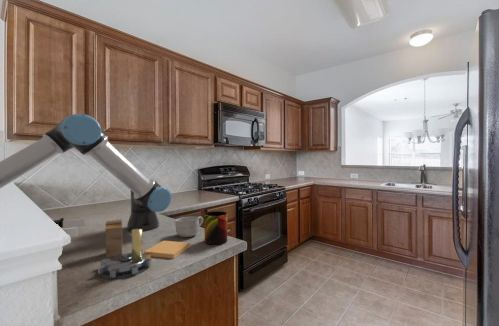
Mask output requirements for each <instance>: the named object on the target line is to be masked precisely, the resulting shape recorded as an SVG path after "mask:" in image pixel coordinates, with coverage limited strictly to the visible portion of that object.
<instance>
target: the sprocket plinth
mask: <svg viewBox="0 0 499 326" xmlns="http://www.w3.org/2000/svg"><path fill="white" fill-rule="evenodd" d="M150 267H151V265H150V266H149V267H143V268H141V269H140V270H138V273H135V274H131V273H128V274H123V275H118V276H117V277H110V275H109V274H106V273H104V274H101V275H99V276H100V277H101V278H103V279H107V280H121V279H126V278H131V277H134V276H137V275H139V274H141V273H144V272H145V271H147V270H148V269H149V268H150Z"/></svg>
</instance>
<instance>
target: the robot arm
mask: <svg viewBox="0 0 499 326" xmlns="http://www.w3.org/2000/svg"><path fill="white" fill-rule="evenodd" d="M73 148H74V149H75V150H76V151H77V152H79V153H80V154H81V155H82V156H90V157H91V158H93V159H94V160H95V161H96V162H97V163H99V165H101V167H103V168H104V169H105V170H107V171H108V172H109V173H110V174H112V175H113V176H114V177H115V178H116V179H117V180H118V181H119V182H121V183H122V185H124V186H125V187H127V188H128V189H129V192H130V215H129V219H128V221H127V224H126V226H127V227H126V230H127V231H130V232H132V230H133V229H138V228H141V229H142V232H146V231H150V230H154V229H157V228H158V227H160V221H159V218H158V216H157V215H158V214H157V213H161V212H163V211H165V210H167V209H168V208H169V206H170V205H171V202H172V193H171V191H170V190H169V189H168V188H166V187H164V186H161V185H160V184H159V183H158V182H157V181H156V180H155V179H154V178H153V179H152V178H148V177H147V176H146V175H145V174H144V173H143V172H142V171H140V170H139V169H138V168H137V166H135V165H134V164H133V163H132V162H131V161H129V159H127V158H126V156H124V154H123V153H121V152H120V151H119V150H118V149H117V148H116V147H115V146H114V145H113V144H112V143H110V141H109V135H107V133H106V132H104V131H103V129H102V127H101V125H100V123H99V121H97V120H96V119H95V118H94V117H93V116H90V115H88V114H85V113H84V114H83V113H74V114H70V115H68V116H66V117H65V118H63V120H61V121H59V122H58V124H56V125H54V127H53V128H51V129H50V130H48V131H47V132H45V133H43V134H42V137H41V138H40V139H38V140H37V141H34V142H32V143H31V144H29V145H28V146H25V147H23V149H21V150H19V151H17V152H15V153H13V154H12V155H9V156H8V157H6V158H4V159H2V160H1V161H0V189H2V188H4V187H5V186H7V185H9V184H10V183H11V182H14V181H15V180H17V179H18V178H20V177H22V176H23V175H25V174H26V173H28V172H30V171H31V170H33V169H35V168H36V167H38V166H40V165H41V164H43V163H45V162H47V160H49V159H51V158H53V157H55V155H58V154H64V153H66V152H67V151H69V150H72V149H73ZM53 221H54V222H55V223H56V224H58V225H59V226H60V227H61V228H60V229H63V230H64V231H65V232H66V233H67V234H69V235H70V237H69V238H71V237H72V238H74V237H78V228H80V227H86V222H85V221H86V218H78V219H64V218H59V219H54V220H53Z"/></svg>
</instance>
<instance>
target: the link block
mask: <svg viewBox="0 0 499 326" xmlns="http://www.w3.org/2000/svg"><path fill="white" fill-rule="evenodd" d="M120 253H121V254H123V219H112V220H106V222H105V258H112V257H114V256H116V254H120Z"/></svg>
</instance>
